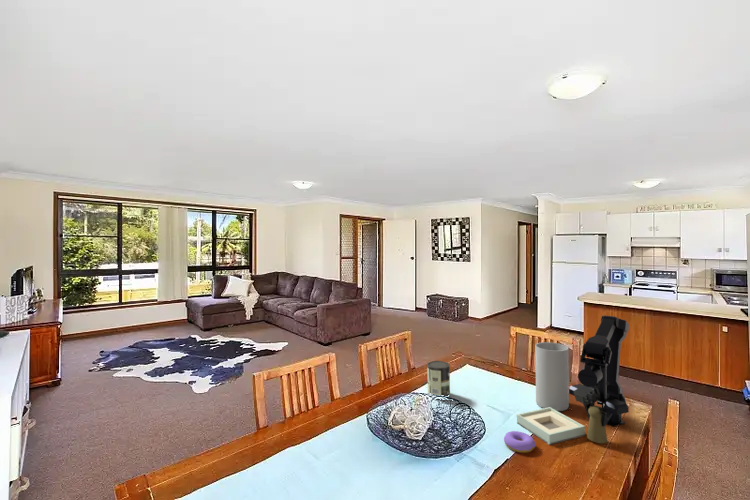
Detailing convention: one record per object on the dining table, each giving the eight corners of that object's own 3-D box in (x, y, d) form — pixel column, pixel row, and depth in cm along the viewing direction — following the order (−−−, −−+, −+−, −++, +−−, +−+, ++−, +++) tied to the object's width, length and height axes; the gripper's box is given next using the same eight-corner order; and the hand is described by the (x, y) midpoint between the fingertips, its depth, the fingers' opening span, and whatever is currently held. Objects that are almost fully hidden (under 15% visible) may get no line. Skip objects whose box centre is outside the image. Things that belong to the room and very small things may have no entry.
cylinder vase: (570, 402, 158) (569, 344, 157) (567, 414, 147) (566, 352, 146) (538, 396, 164) (537, 340, 164) (533, 407, 154) (533, 348, 153)
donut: (503, 450, 123) (503, 435, 124) (504, 442, 131) (504, 428, 132) (536, 456, 119) (535, 440, 120) (535, 447, 128) (534, 432, 128)
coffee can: (447, 390, 173) (447, 360, 173) (452, 399, 163) (451, 368, 163) (426, 390, 174) (425, 360, 173) (428, 399, 163) (428, 368, 163)
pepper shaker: (610, 444, 124) (610, 411, 124) (590, 442, 125) (590, 410, 125) (603, 434, 130) (602, 403, 130) (584, 433, 131) (584, 402, 131)
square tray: (550, 415, 146) (549, 407, 146) (584, 435, 131) (584, 426, 131) (517, 423, 141) (517, 414, 141) (549, 444, 126) (549, 434, 126)
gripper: (557, 372, 133) (557, 414, 134) (604, 392, 116) (604, 441, 116) (580, 368, 137) (580, 409, 137) (629, 386, 119) (629, 434, 120)
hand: (597, 422), depth 128 cm, fingers closed on pepper shaker, 5 cm apart
